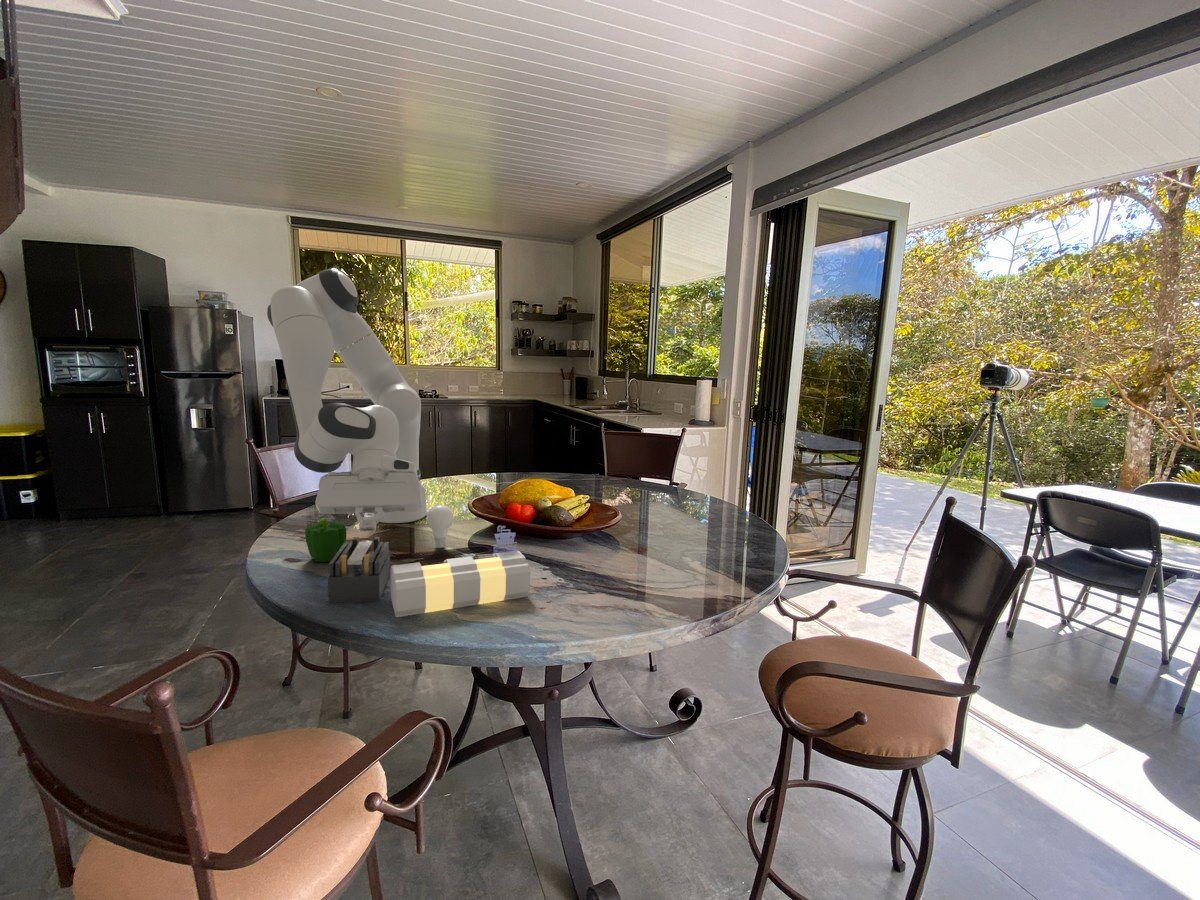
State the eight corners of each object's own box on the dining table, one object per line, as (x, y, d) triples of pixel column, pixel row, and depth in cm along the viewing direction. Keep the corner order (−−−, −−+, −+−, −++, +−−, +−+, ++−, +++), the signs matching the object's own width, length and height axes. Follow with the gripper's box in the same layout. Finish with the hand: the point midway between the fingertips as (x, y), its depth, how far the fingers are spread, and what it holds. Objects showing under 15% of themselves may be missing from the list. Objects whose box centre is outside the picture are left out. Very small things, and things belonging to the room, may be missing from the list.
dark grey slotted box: (344, 575, 112) (344, 537, 110) (390, 574, 114) (389, 536, 112) (328, 602, 99) (327, 559, 98) (379, 600, 101) (378, 558, 100)
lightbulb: (445, 553, 127) (445, 509, 126) (421, 550, 129) (421, 507, 127) (457, 545, 134) (458, 503, 132) (434, 542, 135) (434, 500, 133)
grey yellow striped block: (513, 580, 115) (515, 522, 113) (529, 599, 106) (531, 537, 104) (390, 598, 103) (389, 533, 101) (396, 621, 94) (396, 551, 92)
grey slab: (360, 544, 111) (360, 539, 111) (373, 544, 111) (373, 539, 111) (347, 565, 100) (347, 560, 100) (361, 564, 100) (361, 559, 100)
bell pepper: (323, 550, 126) (321, 509, 124) (353, 554, 124) (353, 513, 122) (296, 562, 117) (294, 519, 116) (328, 567, 116) (327, 523, 114)
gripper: (317, 464, 108) (306, 524, 101) (422, 463, 113) (419, 520, 106) (324, 480, 113) (313, 539, 106) (424, 479, 118) (421, 534, 111)
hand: (367, 529), depth 106 cm, fingers closed
